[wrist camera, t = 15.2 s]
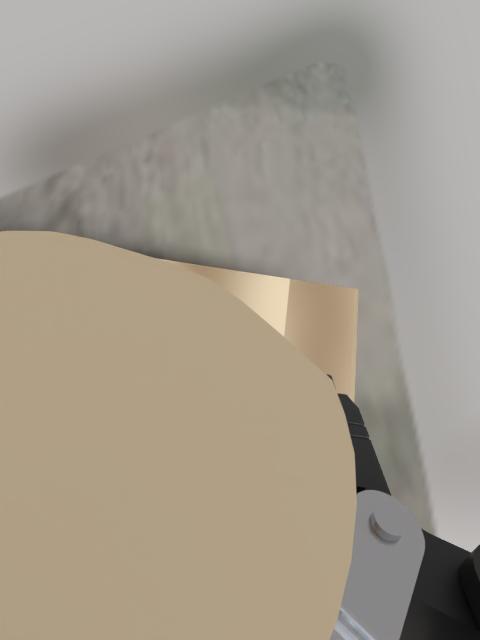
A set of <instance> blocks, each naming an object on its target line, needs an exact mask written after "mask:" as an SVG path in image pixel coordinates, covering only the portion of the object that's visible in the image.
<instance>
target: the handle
mask: <svg viewBox="0 0 480 640" xmlns="http://www.w3.org/2000/svg"><path fill="white" fill-rule="evenodd" d="M356 508H357V494H356V473H355V453H354V449H353V445H352V441H351V437H350V433H349V428H348V424H347V420H346V416H345V413H344V410H343V407H342V405H341V402H340V400H339V397H338V394H337V392H336V389H335V386H334V384H333V381H332V380H331V379H330V378H329V377H328V376H327V375H326V374H325V373H324V372H323V371H321V370H320V369H319V368H318V367H317V366H316V365H315V364H314V363H313V362H311V361H310V360H309V359H308V358H307V357H306V356H305V355H304V354H303V353H301V352H300V351H299V350H298V349H297V348H296V347H295V346H294V345H292V344H291V343H290V342H289V341H288V340H287V339H286V338H285V337H284V336H282V335H281V334H280V333H279V332H278V331H277V330H276V329H274V328H273V327H272V326H271V325H270V324H268V323H267V322H266V321H265V320H264V319H263V318H261V317H260V316H259V315H258V314H257V313H256V312H254V311H253V310H252V309H251V308H250V307H248V306H247V305H246V304H245V303H244V302H243V301H241V300H240V299H238V298H237V297H235V296H234V295H232V294H231V293H229V292H228V291H226V290H225V289H223V288H222V287H220V286H219V285H218V284H216V283H215V282H213V281H212V280H210V279H209V278H206V277H204V276H202V275H199V274H197V273H194V272H192V271H189V270H187V269H184V268H182V267H180V266H177V265H175V264H172V263H170V262H166V261H163V260H160V259H156V258H153V257H150V256H146V255H143V254H140V253H136V252H133V251H130V250H126V249H123V248H120V247H116V246H113V245H110V244H106V243H103V242H100V241H96V240H93V239H89V238H84V237H78V236H73V235H68V234H63V233H58V232H53V231H1V232H0V640H330V638H331V635H332V632H333V630H334V627H335V625H336V622H337V619H338V615H339V610H340V606H341V602H342V598H343V594H344V590H345V585H346V581H347V577H348V573H349V569H350V565H351V559H352V549H353V539H354V529H355V518H356Z"/></svg>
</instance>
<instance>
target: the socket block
mask: <svg viewBox="0 0 480 640" xmlns="http://www.w3.org/2000/svg"><path fill="white" fill-rule="evenodd" d="M156 259H157V258H156ZM160 260H163V259H160ZM163 261H166V262H170V263H172V264H175V265H177V266H180V267H182V268H184V269H187V270H189V271H192V272H194V273H197V274H199V275H202V276H204V277H206V278H209V279H210V280H212V281H213V282H215V283H216V284H218V285H219V286H220V287H222V288H223V289H225V290H226V291H228V292H229V293H231V294H232V295H234V296H235V297H237V298H238V299H240V300H241V301H243V302H244V303H245V304H246V305H247V306H248V307H250V308H251V309H252V310H253V311H254V312H256V313H257V314H258V315H259V316H260V317H261V318H263V319H264V320H265V321H266V322H267V323H268V324H270V325H271V326H272V327H273V328H274V329H276V330H277V331H278V332H279V333H280V334H281V335H282V336H284V337H285V338H286V339H287V340H288V341H289V342H290V343H291V344H292V345H294V346H295V347H296V348H297V349H298V350H299V351H300V352H301V353H303V354H304V355H305V356H306V357H307V358H308V359H309V360H310V361H311V362H313V363H314V364H315V365H316V366H317V367H318V368H319V369H320V370H321V371H323V372H324V373H325V374H329V375H331V376H332V379H333V382H334V385H335V388H336V392H337V393H340V394H346V395H348V397H349V398H350V399H351V400H352V401H353V402H354V394H355V368H356V341H357V314H358V289H352V288H346V287H339V286H333V285H326V284H320V283H313V282H307V281H300V280H294V279H287V278H281V277H274V276H267V275H261V274H254V273H248V272H241V271H235V270H228V269H222V268H215V267H209V266H202V265H196V264H189V263H183V262H176V261H170V260H163Z"/></svg>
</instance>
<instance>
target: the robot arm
mask: <svg viewBox="0 0 480 640" xmlns="http://www.w3.org/2000/svg"><path fill="white" fill-rule="evenodd" d="M326 375H327V376H328V377H329V378H330V379H331V380H332V381H333V379H332V376H331V375H329V374H326ZM333 384H334V382H333ZM334 386H335V385H334ZM335 389H336V388H335ZM337 394H338V397H339V400H340V402H341V405H342V407H343V410H344V413H345V416H346V420H347V424H348V428H349V433H350V437H351V441H352V445H353V449H354V453H355V473H356V494H357V508H356V518H355V529H354V539H353V549H352V559H351V565H350V569H349V573H348V577H347V581H346V585H345V590H344V594H343V598H342V602H341V606H340V610H339V615H338V619H337V622H336V625H335V627H334V630H333V632H332V635H331V638H330V640H480V545H479V546H478V547H477V548H476V549H475V550H474V551H473V552H472V553H471V552H468V551H466V550H464V549H462V548H460V547H457V546H455V545H453V544H451V543H449V542H447V541H444V540H442V539H440V538H438V537H436V536H434V535H432V534H430V533H428V532H426V531H424V530H423V529H421V527H420V525H419V523H418V521H417V520H416V518H415V517H414V516H413V514H412V513H411V512H410V511H409V510H408V509H407V508H406V507H405V506H404V505H403V504H402V503H401V502H399V501H398V500H397V499H395V498H394V497H392V496H391V493H390V491H389V488H388V486H387V483H386V480H385V478H384V475H383V472H382V470H381V467H380V464H379V462H378V459H377V456H376V454H375V451H374V448H373V446H372V443H371V440H369V435H368V432H367V429H366V427H364V421H363V419H362V416H361V413H360V411H359V408H358V407H357V406H356V405H355V404H354V402H353V401H352V400H351V399H350V398H349V397H348V395H346V394H340V393H337Z"/></svg>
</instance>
